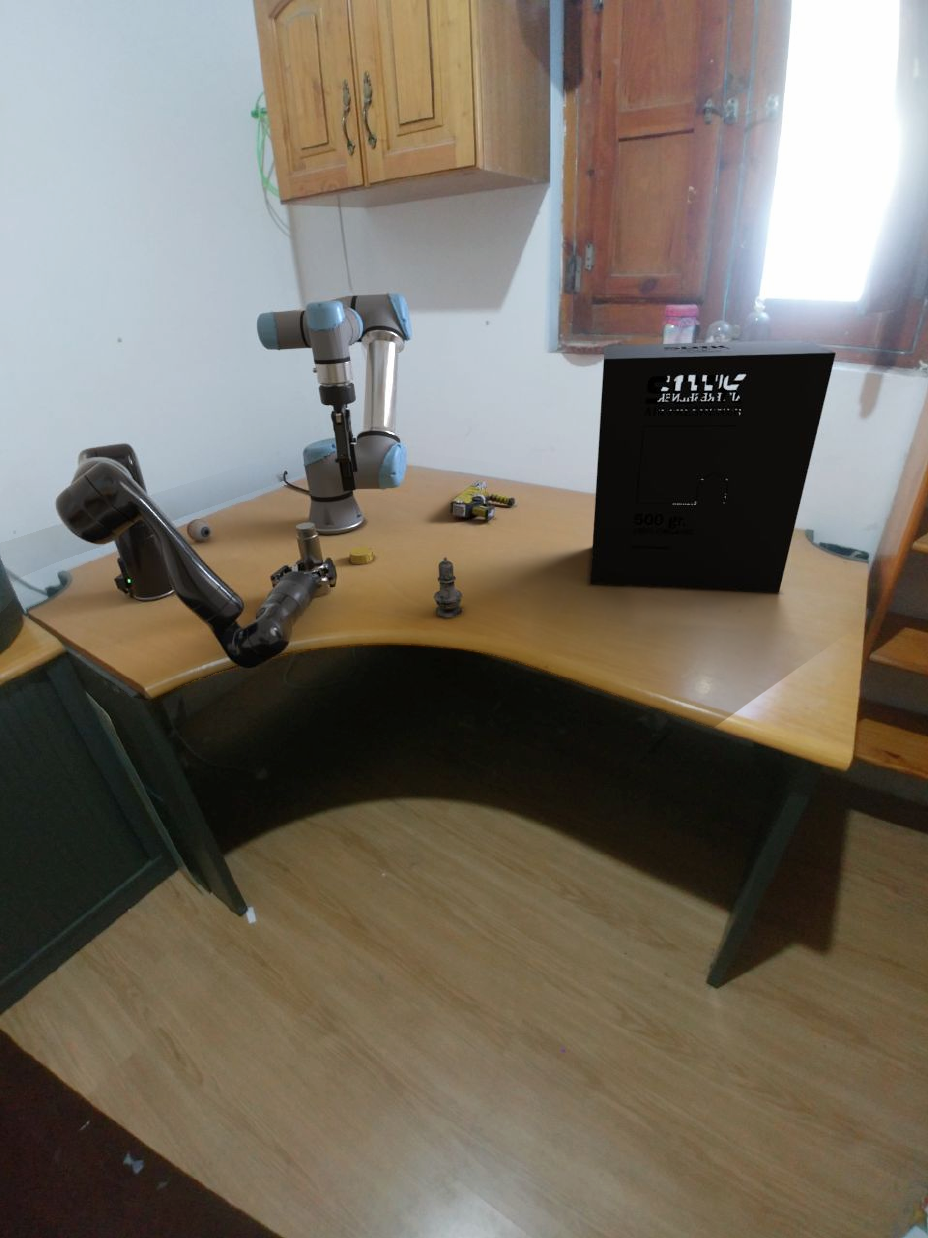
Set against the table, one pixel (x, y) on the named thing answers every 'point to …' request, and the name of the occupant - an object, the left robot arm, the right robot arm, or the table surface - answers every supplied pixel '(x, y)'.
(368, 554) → the lid
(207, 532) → the eyeball
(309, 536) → the jar
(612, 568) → the cardboard box
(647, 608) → the table surface
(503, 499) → the toy gun
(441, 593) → the dark grey chess piece
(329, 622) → the table surface
